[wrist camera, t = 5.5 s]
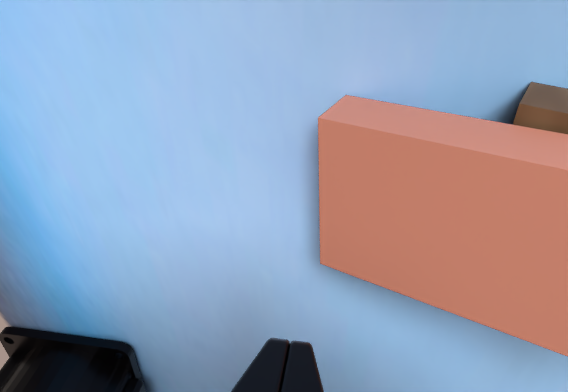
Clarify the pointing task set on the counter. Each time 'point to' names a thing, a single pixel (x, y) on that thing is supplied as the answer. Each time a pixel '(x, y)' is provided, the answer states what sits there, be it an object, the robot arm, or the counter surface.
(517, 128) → the domino
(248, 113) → the counter surface
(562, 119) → the domino
